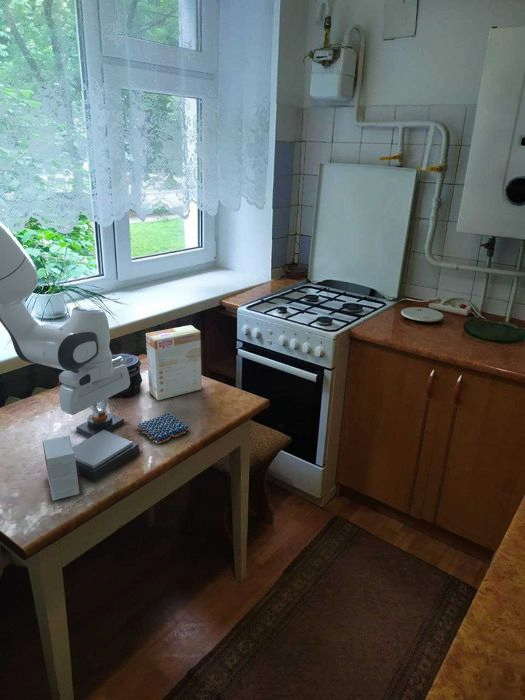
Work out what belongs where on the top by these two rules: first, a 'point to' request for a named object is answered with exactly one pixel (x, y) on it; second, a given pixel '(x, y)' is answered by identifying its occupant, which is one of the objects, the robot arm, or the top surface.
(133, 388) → the container
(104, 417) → the tare button
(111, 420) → the dark grey button base
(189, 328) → the coffeecake box
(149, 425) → the woven mat
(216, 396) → the top surface
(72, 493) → the small box
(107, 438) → the scale
